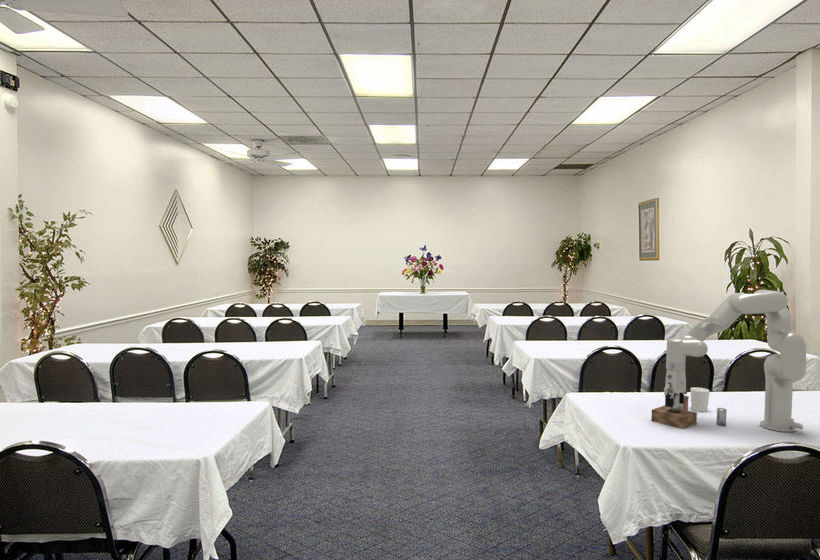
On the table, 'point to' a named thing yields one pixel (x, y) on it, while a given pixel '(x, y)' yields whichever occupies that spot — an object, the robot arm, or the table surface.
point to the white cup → (699, 399)
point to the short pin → (721, 416)
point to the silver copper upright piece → (685, 401)
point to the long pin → (675, 403)
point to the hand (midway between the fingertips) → (674, 404)
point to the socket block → (674, 417)
